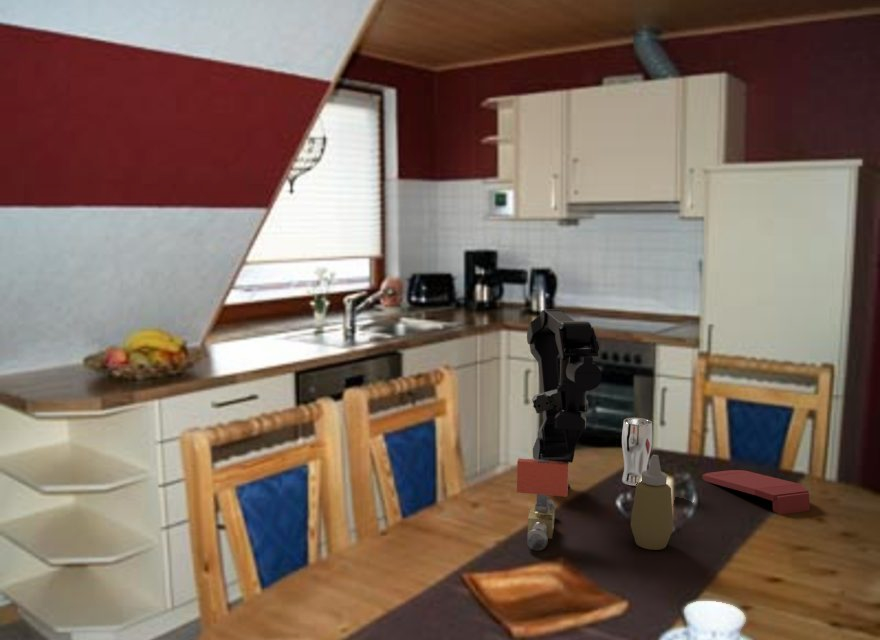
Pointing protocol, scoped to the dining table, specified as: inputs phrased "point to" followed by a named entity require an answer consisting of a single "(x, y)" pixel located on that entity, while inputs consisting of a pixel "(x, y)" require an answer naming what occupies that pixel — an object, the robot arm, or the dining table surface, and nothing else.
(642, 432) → the beer glass
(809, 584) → the dining table surface
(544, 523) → the valve
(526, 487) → the valve lever
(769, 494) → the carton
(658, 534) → the squeeze bottle
